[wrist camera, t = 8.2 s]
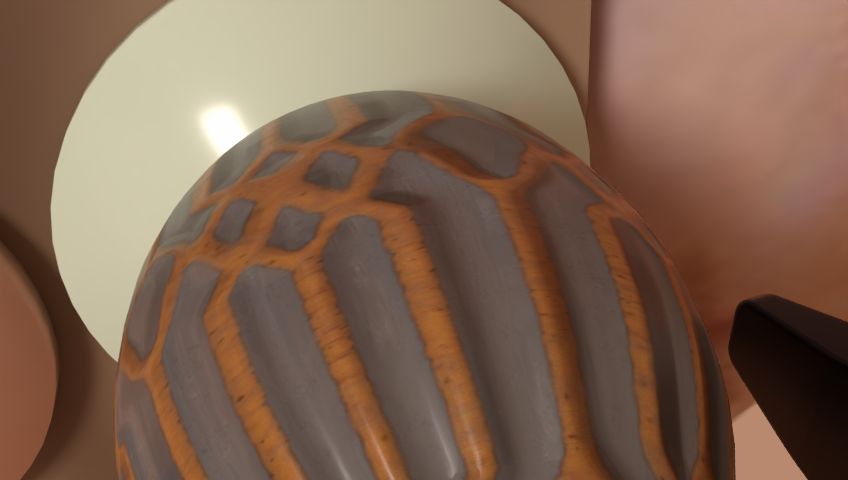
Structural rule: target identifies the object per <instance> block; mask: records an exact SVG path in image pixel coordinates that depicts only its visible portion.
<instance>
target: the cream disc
mask: <svg viewBox="0 0 848 480" xmlns="http://www.w3.org/2000/svg"><path fill="white" fill-rule="evenodd" d="M384 90H403V91H415V92H425V93H432V94H438V95H444V96H450V97H456V98H460V99H464V100H468V101H471V102H475V103H478V104H480V105H483V106H486V107H489V108H492V109H494V110H497V111H500V112H502V113H505V114H507V115H510V116H512V117H514V118H516V119H519V120H521V121H523V122H525V123H527V124H529V125H531V126H532V127H534V128H536V129H538V130H539V131H541V132H543V133H544V134H546V135H547V136H549V137H550V138H552V139H553V140H554V141H556V142H557V143H559V144H560V145H562V146H563V147H565V148H566V149H567V150H569V151H570V152H572V153H573V154H575V155H576V156H577V157H579V158H580V159H581V160H582V161H583V162H584V163H586V164H587V165H588V166H589V167H590V147H589V141H588V136H587V130H586V124H585V120H584V117H583V114H582V110H581V107H580V104H579V101H578V98H577V95H576V92H575V90H574V89H573V87H572V85H571V83H570V81H569V79H568V77H567V75H566V73H565V71H564V69H563V67H562V65H561V64H560V62H559V61H558V59H557V58H556V57H555V55H554V54H553V53H552V51H551V50H550V48H549V47H548V46H547V44H546V43H545V41H544V40H543V39H542V38H541V37H540V36H539V35H538V34H537V33H536V32H535V31H534V30H533V29H532V28H531V27H530V26H529V25H528V24H527V23H526V22H525V21H524V20H523V19H522V18H521V17H520V16H519V15H518V14H517V13H515V12H514V11H513V10H511V9H510V8H509V7H507V6H506V5H505V4H503V3H502V2H500V1H499V0H166V1H165V2H164V3H162V4H161V5H160V6H159V7H157V8H156V9H155V10H153V11H152V12H151V13H150V14H148V15H147V16H146V17H145V18H143V19H142V20H141V21H139V22H138V23H137V24H136V25H135V26H134V27H133V28H132V29H131V30H130V32H129V33H128V34H127V35H126V36H125V37H124V38H123V39H122V40H121V41H120V42H119V43H118V44H117V45H116V46H115V47H114V48H113V50H112V51H111V52H110V53H109V54H108V56H107V57H106V59H105V60H104V61H103V63H102V64H101V66H100V67H99V69H98V70H97V72H96V73H95V75H94V76H93V77H92V79H91V80H90V82H89V83H88V85H87V87H86V89H85V91H84V93H83V95H82V97H81V99H80V101H79V104H78V106H77V108H76V110H75V112H74V114H73V116H72V118H71V121H70V123H69V126H68V129H67V131H66V134H65V137H64V141H63V144H62V148H61V151H60V155H59V158H58V162H57V165H56V168H55V172H54V181H53V190H52V199H51V224H52V241H53V246H54V250H55V255H56V259H57V263H58V268H59V272H60V275H61V278H62V280H63V283H64V285H65V287H66V290H67V292H68V295H69V297H70V300H71V302H72V304H73V306H74V308H75V309H76V311H77V312H78V314H79V316H80V317H81V319H82V321H83V322H84V324H85V325H86V327H87V329H88V330H89V332H90V333H91V334H92V335H93V336H94V338H95V339H96V340H97V341H98V342H99V344H100V345H101V346H102V347H103V348H104V349H105V351H106V352H107V353H108V354H109V355H110V356H111V357H112V358H113V359H114V360H115V361H117V362H118V358H119V352H120V347H121V341H122V335H123V330H124V324H125V321H126V317H127V313H128V310H129V306H130V303H131V299H132V296H133V292H134V289H135V285H136V282H137V279H138V276H139V274H140V271H141V269H142V266H143V264H144V261H145V259H146V257H147V255H148V253H149V251H150V249H151V247H152V245H153V243H154V242H155V240H156V238H157V236H158V235H159V233H160V231H161V229H162V228H163V226H164V224H165V223H166V221H167V219H168V218H169V216H170V215H171V213H172V211H173V210H174V208H175V207H176V206H177V204H178V203H179V202H180V200H181V199H182V198H183V196H184V195H185V194H186V192H187V191H188V190H189V189H190V188H191V187H192V186H193V185H194V183H195V182H196V181H197V180H198V179H199V178H200V177H201V176H202V175H203V174H204V172H205V171H206V170H207V169H208V168H209V167H210V166H211V165H212V164H213V163H214V162H215V161H216V160H217V159H218V158H220V157H221V156H222V155H223V154H224V153H225V152H226V151H228V150H229V149H230V148H231V147H233V146H234V145H235V144H236V143H238V142H239V141H240V140H242V139H243V138H245V137H246V136H248V135H249V134H251V133H252V132H253V131H255V130H257V129H258V128H260V127H262V126H264V125H265V124H267V123H269V122H271V121H272V120H275V119H277V118H279V117H281V116H283V115H285V114H287V113H289V112H292V111H294V110H297V109H299V108H302V107H304V106H307V105H310V104H313V103H316V102H319V101H323V100H326V99H330V98H334V97H339V96H343V95H348V94H355V93H361V92H370V91H384Z"/></svg>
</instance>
